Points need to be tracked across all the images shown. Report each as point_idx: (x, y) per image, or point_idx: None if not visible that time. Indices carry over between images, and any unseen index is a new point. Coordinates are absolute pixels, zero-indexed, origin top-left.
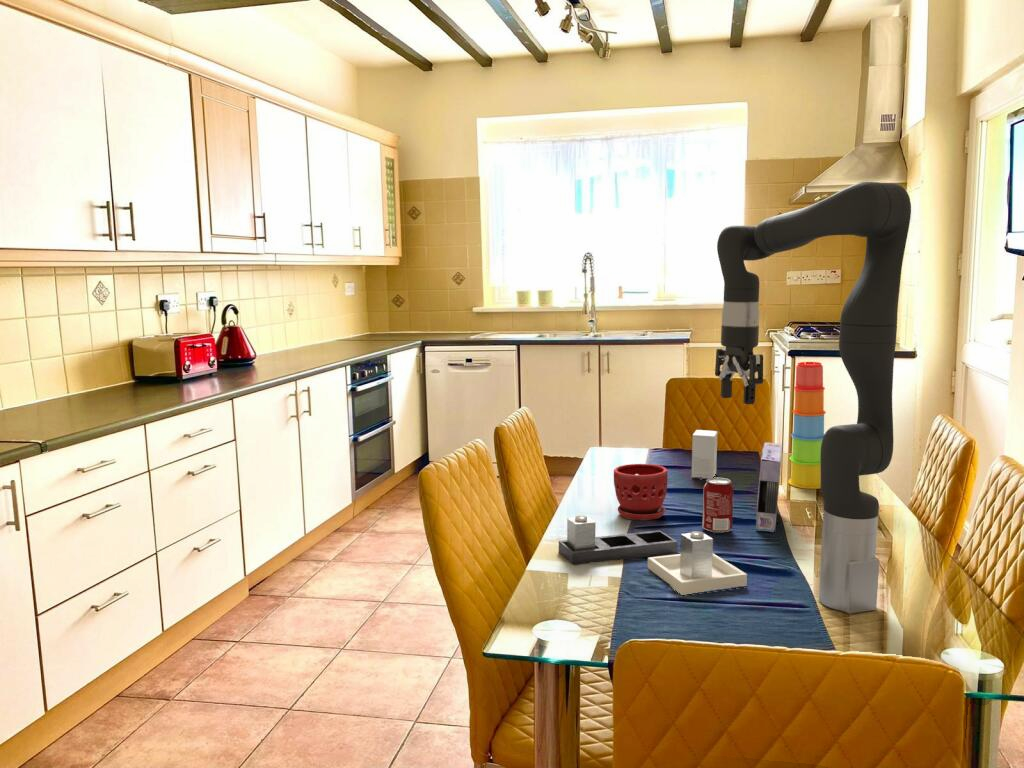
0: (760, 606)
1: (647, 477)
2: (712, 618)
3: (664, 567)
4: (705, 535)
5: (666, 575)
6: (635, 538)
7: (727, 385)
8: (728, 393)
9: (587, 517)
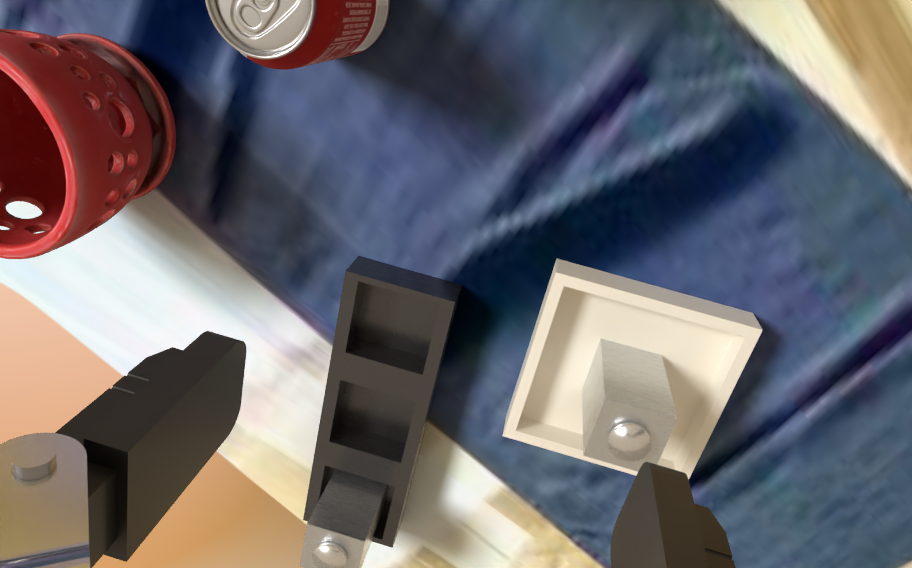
0: (858, 379)
1: (82, 203)
2: (813, 503)
3: (581, 452)
4: (639, 413)
5: None
6: (374, 374)
7: (166, 468)
8: (219, 391)
9: (337, 550)
